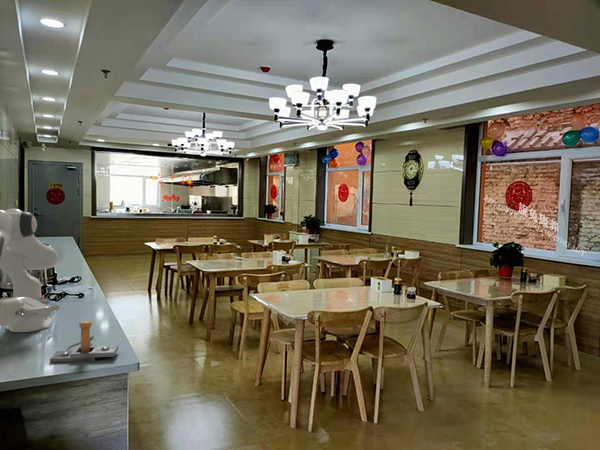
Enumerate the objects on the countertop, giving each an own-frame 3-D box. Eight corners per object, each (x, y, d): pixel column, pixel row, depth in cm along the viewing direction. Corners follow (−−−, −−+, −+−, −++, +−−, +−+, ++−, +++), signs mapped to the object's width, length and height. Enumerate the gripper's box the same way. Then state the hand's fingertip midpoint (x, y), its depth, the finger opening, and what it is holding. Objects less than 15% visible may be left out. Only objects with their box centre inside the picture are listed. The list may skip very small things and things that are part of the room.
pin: (79, 356, 178) (79, 321, 177) (91, 355, 180) (92, 320, 179) (78, 360, 174) (78, 324, 173) (91, 359, 175) (91, 323, 175)
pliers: (66, 351, 182) (69, 336, 200) (66, 353, 182) (69, 338, 200) (92, 348, 186) (93, 334, 204) (92, 351, 186) (93, 336, 204)
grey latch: (57, 355, 179) (57, 345, 178) (118, 352, 183) (118, 343, 183) (49, 363, 170) (49, 353, 170) (114, 360, 175) (114, 350, 175)
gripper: (22, 307, 149) (65, 300, 159) (0, 296, 161) (41, 291, 172) (22, 326, 149) (65, 318, 160) (0, 314, 162) (41, 307, 173)
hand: (53, 304), depth 166 cm, fingers open, 8 cm apart
